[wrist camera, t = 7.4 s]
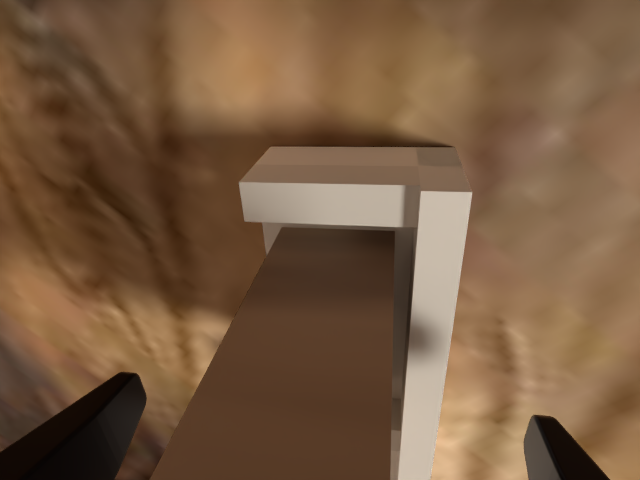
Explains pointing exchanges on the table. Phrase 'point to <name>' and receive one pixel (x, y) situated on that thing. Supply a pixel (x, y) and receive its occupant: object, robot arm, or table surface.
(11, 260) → the table surface
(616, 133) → the table surface
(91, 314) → the table surface
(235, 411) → the tall taupe pillar block
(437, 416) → the white tray base
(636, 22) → the table surface
